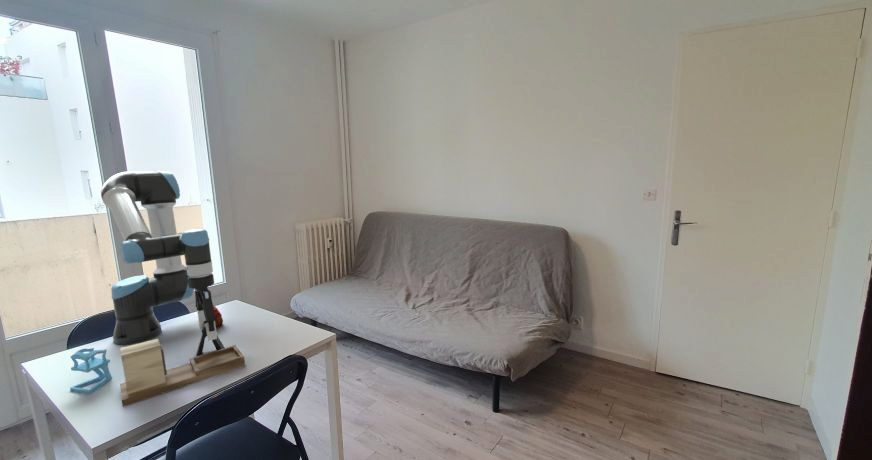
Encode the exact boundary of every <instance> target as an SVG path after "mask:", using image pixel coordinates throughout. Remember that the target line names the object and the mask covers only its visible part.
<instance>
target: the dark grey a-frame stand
mask: <svg viewBox="0 0 872 460" xmlns="http://www.w3.org/2000/svg"><path fill="white" fill-rule="evenodd" d="M205 324H206V323H204V322H203V325H202V329H201V338H200V340H199V343H198V346H197V347H198V348H197V350H196V354H195V357H196V356H200V355H203V354H207V353H210V352H213V351H217V350H220V349H224V348H226V347H225V345H224V344H223V342H222V341H221V339H220V338H219V336H218V335H217V339H214V340H211V342H212V344H213V347H214V348H215V349H212V350H210V351H204V346H205V340H206V337H207V331H206V328H205Z"/></svg>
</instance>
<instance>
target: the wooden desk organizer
mask: <svg viewBox="0 0 872 460" xmlns="http://www.w3.org/2000/svg"><path fill="white" fill-rule="evenodd" d="M212 351H213V350H212ZM188 360H189V361H188V363H185V364H181V365H178V366H175V367H172V368H169V369H166V371H167V375H165V380H166V382H165V383H162V384H159V385H156V386H152V387H149V388H146V389H143V390H140V391H137V392H134V393H130V394H128V392H127V386H126V381H125V382H122V383H119V390H120V397H121V403H122V407H123V408H124V407H126V406H131V405H132V404H135V403H138V402H141V401H144V400H147V399H150V398H154V397H156V396H159V395H162V394H165V393H169V392H172V391H175V390H178V389H181V388H183V387H186V386H187V387H188V386H190V385H193V384H195V383H199V382H201V381H204V380H208V379H211V378H213V377H217V376H219V375H223V374H226V373H228V372H231V371H235V370H238V369H240V368H243V367H246V361H245V355H244V354H243V352H241V351H240V349H239V347H237V345H236V344H234V345H229V346H228V347H225V348H224V349H220V350H217V351H213V352H210V353H207V354H203V355H200V356H196V355H195V356H194V357H190V358H189V359H188Z"/></svg>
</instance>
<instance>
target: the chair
mask: <svg viewBox="0 0 872 460" xmlns="http://www.w3.org/2000/svg"><path fill="white" fill-rule="evenodd" d="M73 353H74V354H72V355H71V356H70V359H71V361H72V362H73V363H74V364H73V366H72V367H70V369H71V371H73V372H74V371H75V372H76V371H77V372H83V373H87V374H88V373H90V372H92V371H93V372H94V373H95V374H96V375H98V376H96V377H94V378H92V379H89V380H86V381H84V382H81V383H77V384H75V385H73V386H71V387H70V388H69V389H70V391H71V392H75V393H82V394H92V393H94V392H95V391H96V390H98V389H99V388H100V387H102V386H103V385H105V383H107V382H108V381H110V380H112V379H113V377H112V373H111V372H110V369H109V363H111V358H110V359H109V358H106V354H107V348H106V349H97V350H95V347H91V348H82V349H79V350H78V351H76V352H73ZM99 354H102V356H101V357H95V356H96V355H99ZM78 360H81V361H84V362H80V363H79V362H78ZM96 382H98V383H96ZM93 383H96V384H95V385H94V386H93V387H91V388H89V389H88V388H87V389H86V388H81V387H85V386H87V385H90V384H93Z"/></svg>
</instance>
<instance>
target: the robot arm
mask: <svg viewBox="0 0 872 460" xmlns="http://www.w3.org/2000/svg"><path fill="white" fill-rule="evenodd" d="M180 192H181V191H180V186H179V183H178V181H177V179H176V177H175V175H174V174H173V173H171V172H170V171H167V170H166V171H164V170H152V171H151V170H150V171H147V170H146V171H145V170H144V171H123V172H119V173H116V174H114V175H112V176H111V177H109V178H108V179H107V180H106V182H104V184H103V186H102V188H101V191H100V197H101V199H102V203H103V204H104V205H105V207H107V208H108V209H109V210H110V212H111V214H112V216H113V218H114V221H115V223H116V226H117V228H118V230H119V233H120V235H121V237H122V239H123V241H121V242H120V243H119V253H120V256H121V260H122V262H123V263H125V264H130V265H131V264H136V263H137V264H139V263H144V262H149V261H155V265H156V269H155V270H154V271H153V272H152V274H153V277H148V276H147V275H145V274H142V275H135V276H131V277H127V278H125V279H121V280H119V281H117V282H116V283H114V284H113V285H112V286H111V288H110V290H111V300H112V303H113V310H114V315H115V327H114V330H113V335H112V340H113V343H114V344H115V345H130V344H131V345H133V344H138V343H142V342H146V341H149V340H150V339H152V338H155V337H157V336H158V335H160V334H161V332H162V325H161V323H160V321H159V320H158V319H157V317H156V315H155V313H154V307H158V306H162V305H166V304H170V303H171V304H172V303H175V302H181V301H183V300H186V299H190V298H191V297H192V296H193V295H194V299H195V308H196V311H197V318H198V325H199V326H198V327H199V329H200V330H202V325H203V322H204V323H206V324H205V328H206V331H207V336H206V337H207V338H206V339H207V341H208V342H209V341H212V340H214V339H217V336H218V333H217V329H216V325H215V321H216V317H215V312H214V307H213V306H214V303H213V300H212V292H211V290H210V289H209V287H211V286H213V285H214V284H215V277H214V274H213V272H214V269H213V261H212V256H211V255H212V254H211V247H210V246H211V245H210V237H209V235H208V231H207V230H206V229H204V228H197V229H188V230H184V231H182V232H178V231H177V227H176V221H175V214H174V208H173V207H174V206H175V205H176V204H177V200H178V199H180V197H181V193H180ZM137 202H140V205H141V206H140V207H142V208H144V209H145V210H146V211H147V217H148V222H149V223H148V224H149V227H148V226H147V223H146V221H145V219H144V218H143V216H142V213H141V211H140V210H139V207H138V205H137ZM177 232H178V233H177ZM182 256H184V260H185V261H184V262H185V265H184V264H183V263H182ZM194 293H195V294H194ZM210 317H212V318H210Z"/></svg>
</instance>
